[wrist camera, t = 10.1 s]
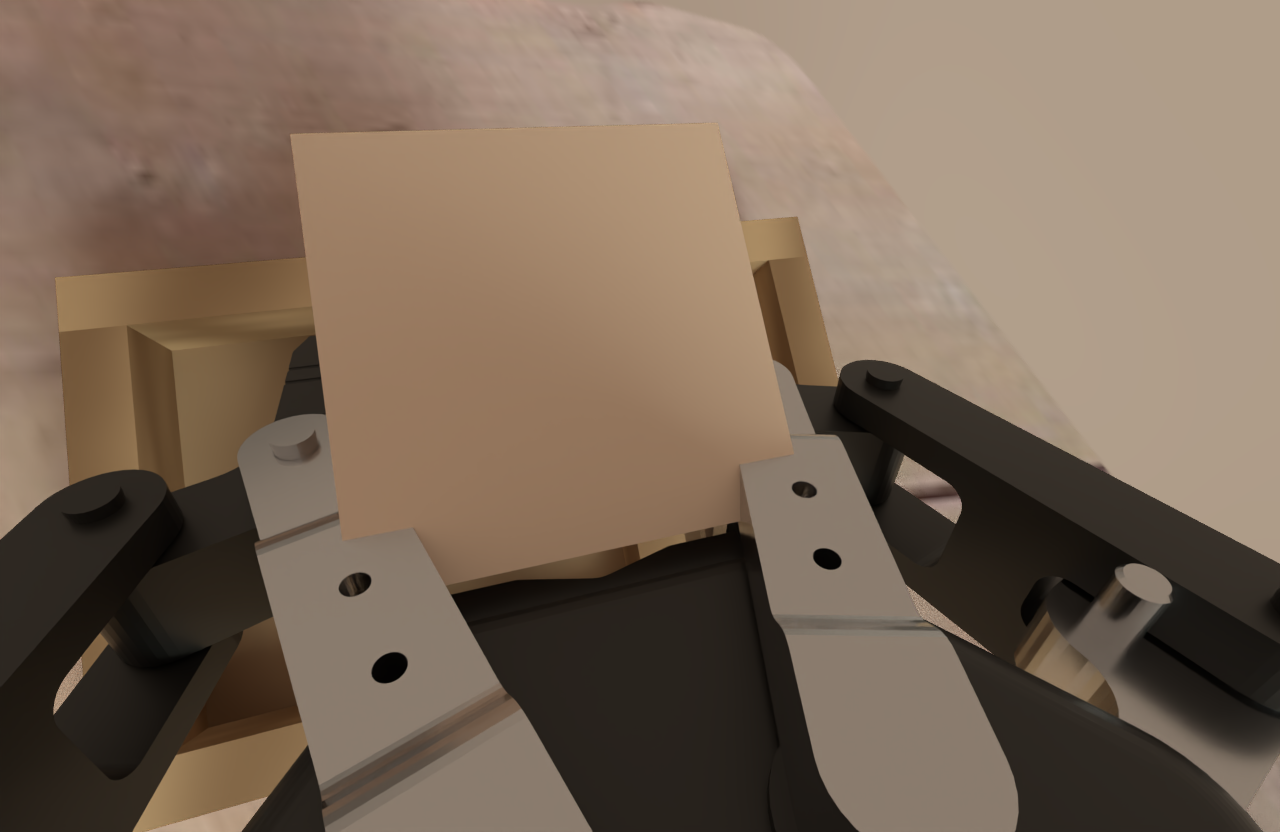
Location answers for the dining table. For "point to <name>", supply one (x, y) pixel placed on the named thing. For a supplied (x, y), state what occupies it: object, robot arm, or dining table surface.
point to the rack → (248, 400)
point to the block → (534, 337)
